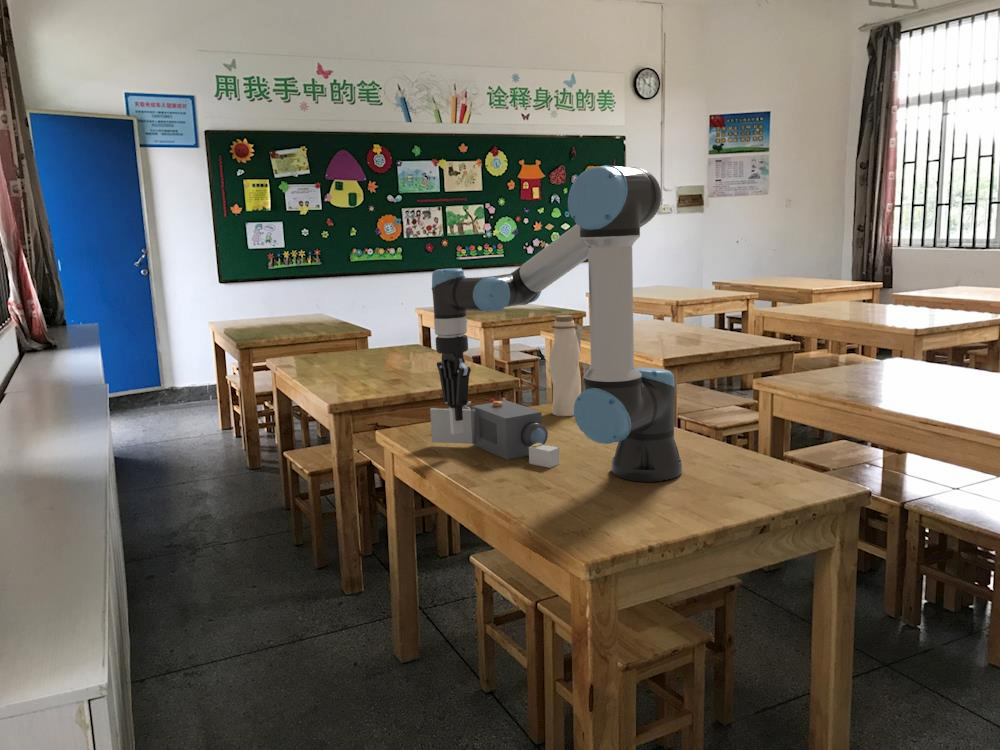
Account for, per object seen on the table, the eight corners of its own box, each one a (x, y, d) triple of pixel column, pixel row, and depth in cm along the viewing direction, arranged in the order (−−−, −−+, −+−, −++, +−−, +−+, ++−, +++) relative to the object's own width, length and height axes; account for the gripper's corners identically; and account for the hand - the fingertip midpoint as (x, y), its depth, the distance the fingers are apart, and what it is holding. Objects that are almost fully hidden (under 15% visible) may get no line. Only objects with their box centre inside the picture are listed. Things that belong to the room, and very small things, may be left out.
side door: (431, 442, 204) (429, 409, 202) (434, 440, 206) (432, 407, 204) (475, 444, 201) (474, 410, 199) (478, 441, 203) (476, 408, 201)
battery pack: (559, 464, 186) (558, 445, 186) (550, 468, 184) (549, 449, 183) (538, 460, 190) (538, 442, 189) (529, 463, 188) (528, 445, 187)
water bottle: (564, 407, 241) (562, 312, 236) (589, 410, 235) (588, 314, 230) (543, 414, 233) (541, 316, 228) (569, 418, 227) (568, 318, 222)
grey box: (549, 455, 193) (548, 410, 191) (513, 462, 188) (511, 416, 186) (507, 438, 209) (506, 396, 207) (473, 444, 204) (471, 402, 202)
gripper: (479, 335, 187) (484, 435, 191) (452, 331, 198) (458, 425, 202) (450, 339, 183) (456, 441, 187) (424, 334, 194) (431, 430, 198)
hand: (457, 432), depth 195 cm, fingers closed
